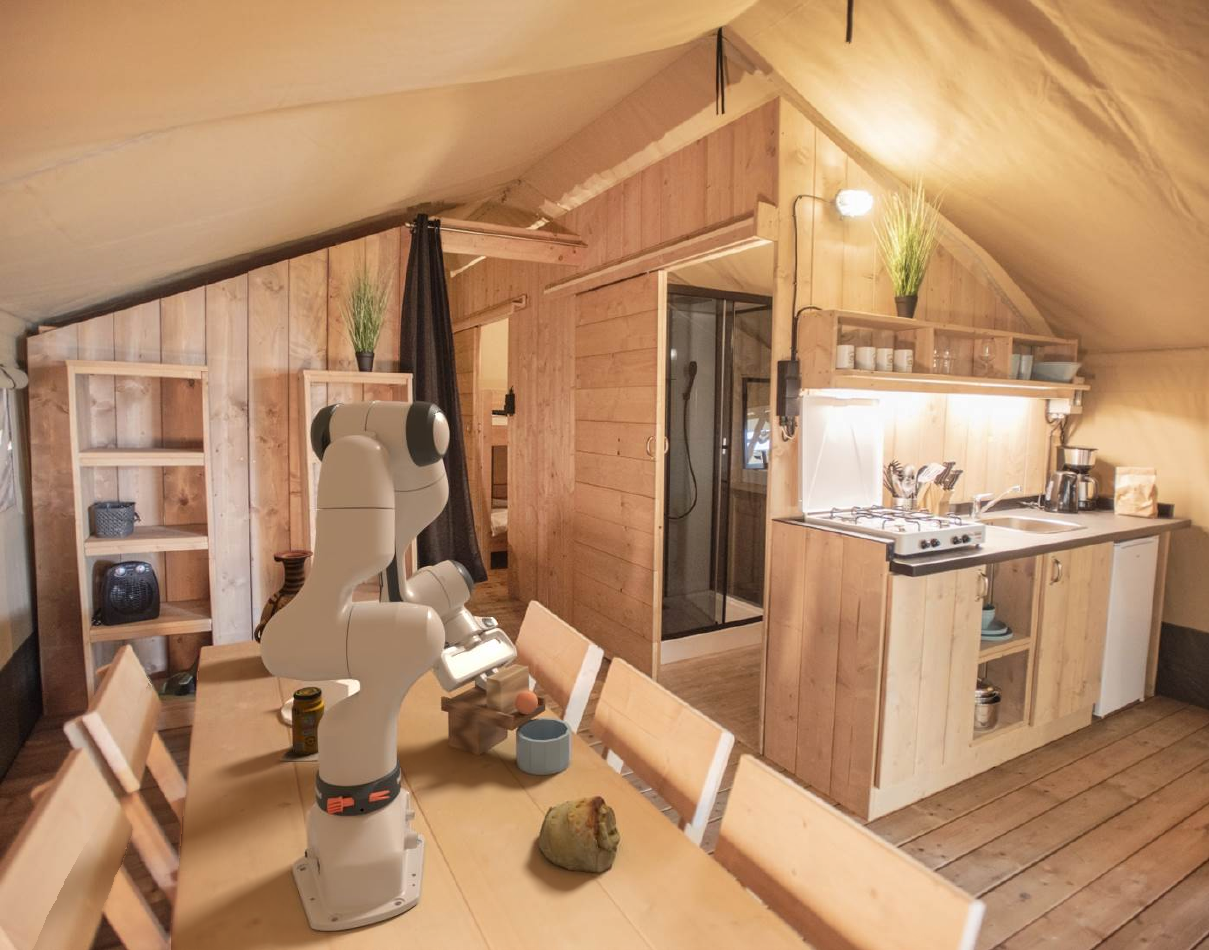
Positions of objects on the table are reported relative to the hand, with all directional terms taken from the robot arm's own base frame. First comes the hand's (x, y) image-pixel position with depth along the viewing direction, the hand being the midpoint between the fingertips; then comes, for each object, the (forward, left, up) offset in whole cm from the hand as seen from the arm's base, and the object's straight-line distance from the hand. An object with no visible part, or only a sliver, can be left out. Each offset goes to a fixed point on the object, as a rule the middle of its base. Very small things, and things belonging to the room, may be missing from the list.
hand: (497, 692), depth 140 cm
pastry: (-37, -4, -12) cm, 39 cm away
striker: (-2, -2, -2) cm, 4 cm away
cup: (-9, -7, -11) cm, 16 cm away
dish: (+34, +29, -12) cm, 46 cm away
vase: (+69, +39, -12) cm, 80 cm away
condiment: (+13, +36, -12) cm, 40 cm away
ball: (-6, -4, 0) cm, 8 cm away
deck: (+1, +1, -11) cm, 12 cm away
